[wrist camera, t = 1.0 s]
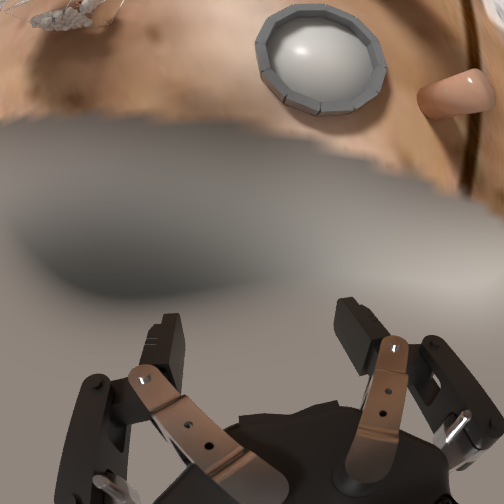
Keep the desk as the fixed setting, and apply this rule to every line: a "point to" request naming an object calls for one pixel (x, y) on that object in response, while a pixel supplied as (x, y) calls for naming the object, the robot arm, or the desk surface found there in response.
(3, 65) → the desk surface
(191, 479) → the robot arm
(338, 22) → the round tray
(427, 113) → the pink cylinder
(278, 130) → the desk surface
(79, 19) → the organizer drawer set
